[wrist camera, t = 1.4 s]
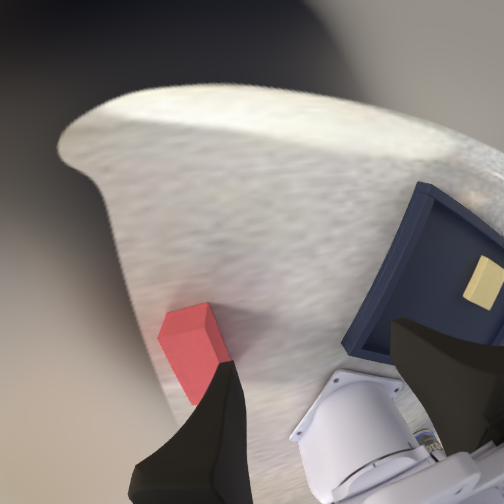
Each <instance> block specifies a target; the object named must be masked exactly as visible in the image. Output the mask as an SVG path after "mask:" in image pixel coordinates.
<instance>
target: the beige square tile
mask: <svg viewBox="0 0 504 504" xmlns="http://www.w3.org/2000/svg"><path fill="white" fill-rule="evenodd" d="M503 282H504V269H503V268H501V267H500V266H499V265H497V264H496V263H494V262H493V261H492V260H490V259H489V258H487V257H485V256H483V255H481V257H480V260H479V262H478V264H477V267H476V269H475V271H474V273H473V275H472V278H471V280H470V282H469V284H468V286H467V288H466V290H465V292H464V294H463V297H464V298H466V299H467V300H469V301H471V302H473V303H475V304H477V305H479V306H481V307H483V308H485V309H487V310H490V309H491V307H492V305H493V303H494V301H495V299H496V297H497V295H498V293H499V291H500V288H501V286H502V284H503Z"/></svg>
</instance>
